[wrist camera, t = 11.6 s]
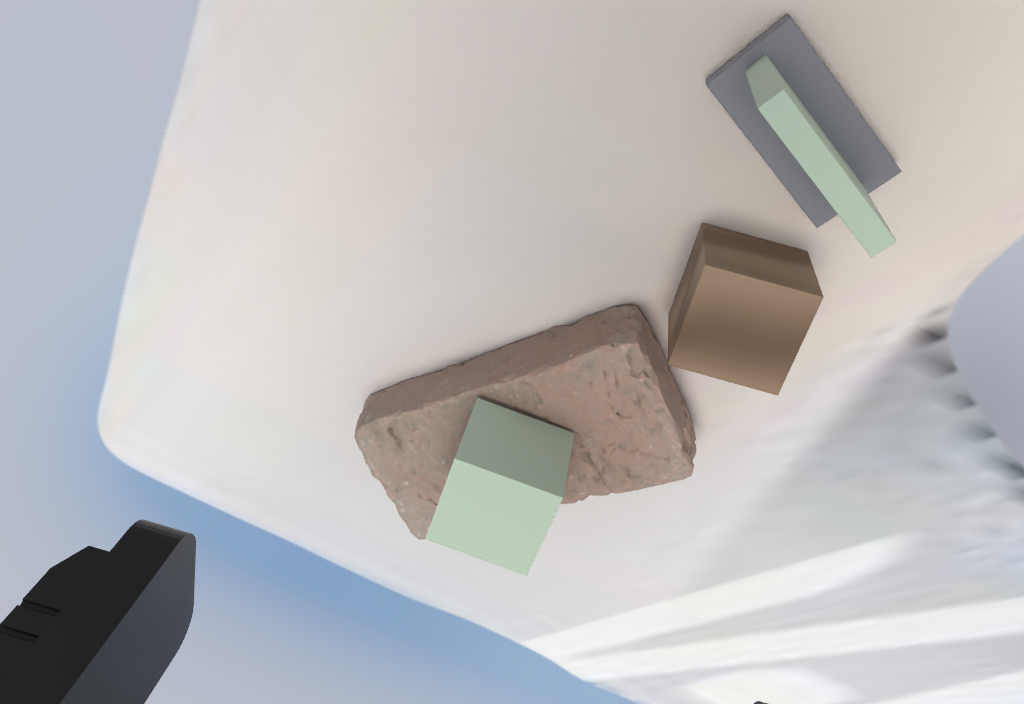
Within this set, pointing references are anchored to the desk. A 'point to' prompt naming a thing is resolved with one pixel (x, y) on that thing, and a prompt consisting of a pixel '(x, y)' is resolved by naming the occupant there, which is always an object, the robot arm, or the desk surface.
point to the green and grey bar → (807, 131)
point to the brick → (539, 412)
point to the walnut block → (742, 309)
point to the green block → (502, 487)
